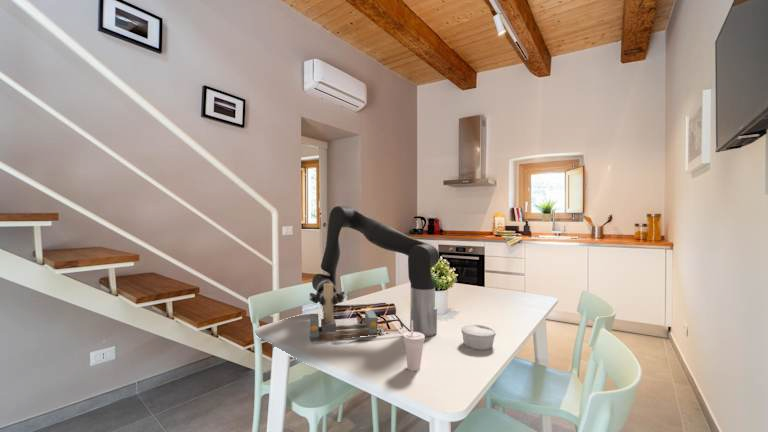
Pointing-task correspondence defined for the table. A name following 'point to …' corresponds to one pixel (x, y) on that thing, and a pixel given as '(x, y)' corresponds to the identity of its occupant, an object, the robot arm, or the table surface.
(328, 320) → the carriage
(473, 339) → the ramekin
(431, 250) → the robot arm
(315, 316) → the pair of sage blocks
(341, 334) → the rail bed
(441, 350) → the table surface
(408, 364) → the smoothie
